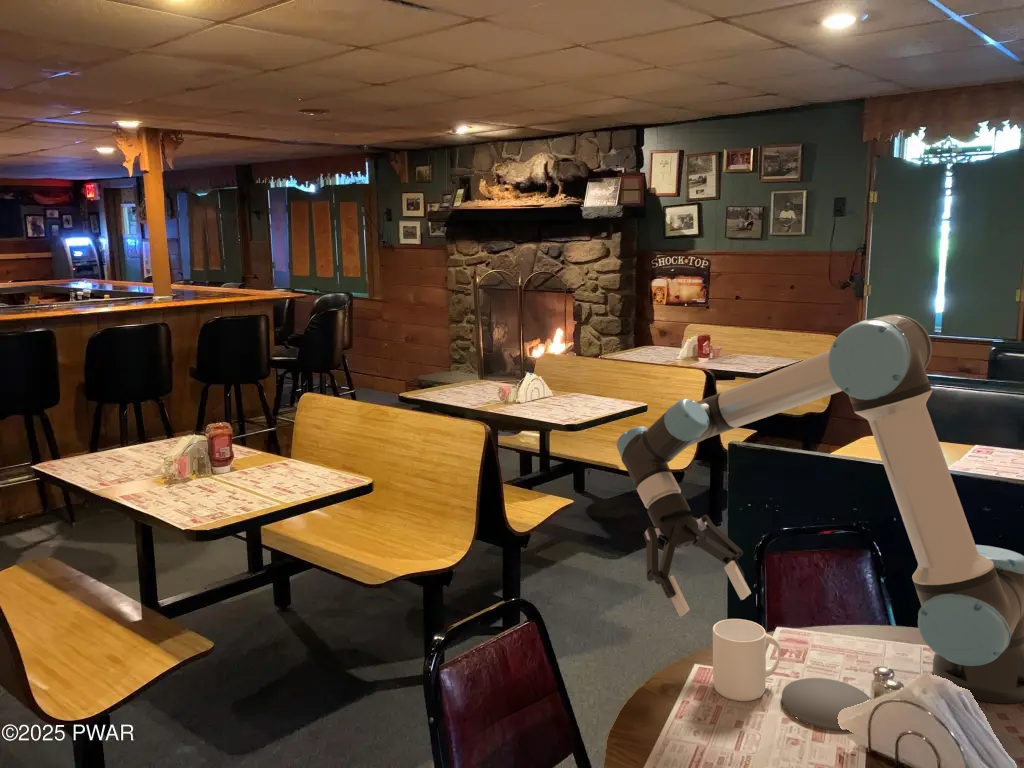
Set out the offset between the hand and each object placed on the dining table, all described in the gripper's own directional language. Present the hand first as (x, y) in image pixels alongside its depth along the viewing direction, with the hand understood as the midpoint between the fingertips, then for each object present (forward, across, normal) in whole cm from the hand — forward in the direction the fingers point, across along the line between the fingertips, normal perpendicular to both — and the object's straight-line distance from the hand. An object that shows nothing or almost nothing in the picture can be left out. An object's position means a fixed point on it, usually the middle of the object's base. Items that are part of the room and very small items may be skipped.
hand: (716, 604), depth 143 cm
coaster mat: (+21, -8, +4) cm, 23 cm away
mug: (+14, 0, -3) cm, 15 cm away
